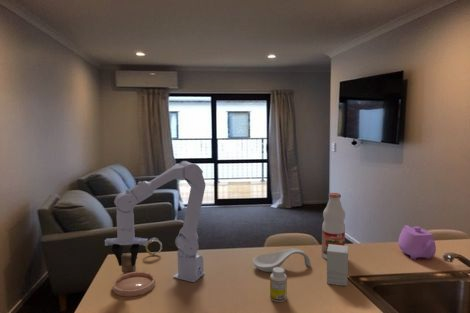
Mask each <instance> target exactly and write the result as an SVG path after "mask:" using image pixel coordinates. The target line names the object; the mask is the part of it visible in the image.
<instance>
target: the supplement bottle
mask: <svg viewBox="0 0 470 313" xmlns="http://www.w3.org/2000/svg"><path fill="white" fill-rule="evenodd" d="M269 276H270V277H269V278H270V279H269V280H270V281H269V283H270V284H269V292H270V293H269V295H270V296H269V297H270V299H271V300H272V301H274V302H277V303H281V302H284V301H286V300H287V298H288V296H287V295H288V293H287V292H288V289H287V288H288V285H287V284H288V283H287V282H288V276H287V274H286V273H285V268H284V267H281V266H280V267H275V268H273V272H271V274H270V275H269Z"/></svg>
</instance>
